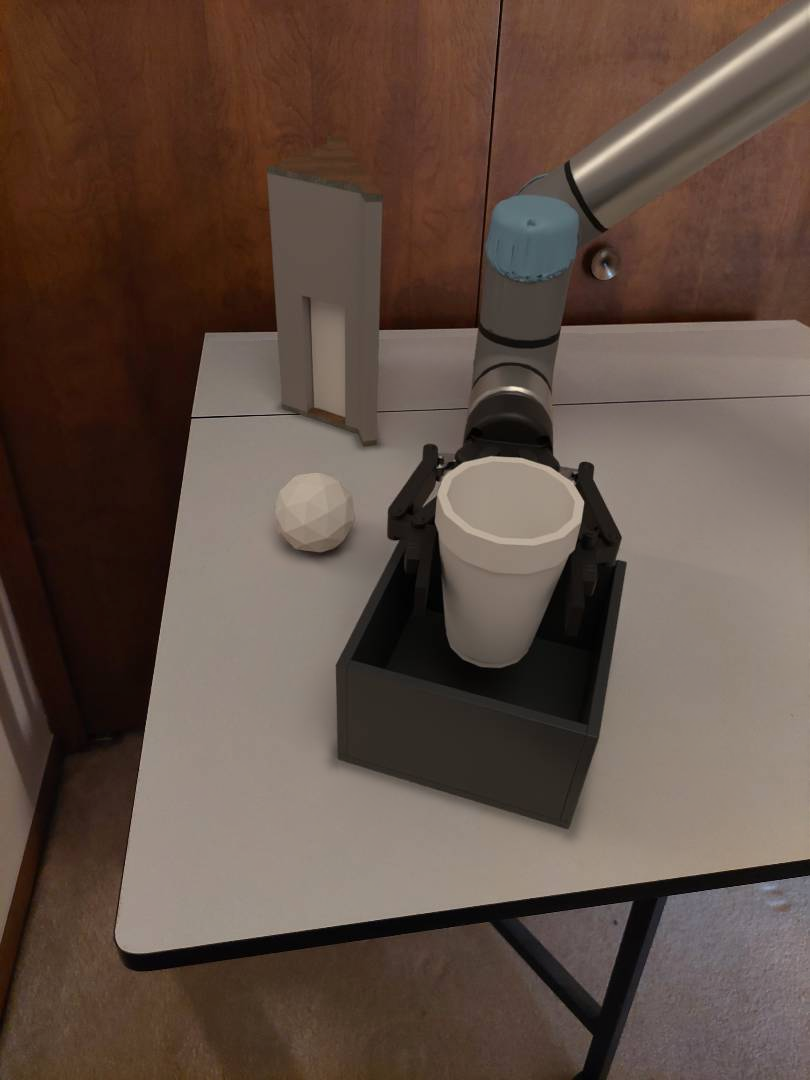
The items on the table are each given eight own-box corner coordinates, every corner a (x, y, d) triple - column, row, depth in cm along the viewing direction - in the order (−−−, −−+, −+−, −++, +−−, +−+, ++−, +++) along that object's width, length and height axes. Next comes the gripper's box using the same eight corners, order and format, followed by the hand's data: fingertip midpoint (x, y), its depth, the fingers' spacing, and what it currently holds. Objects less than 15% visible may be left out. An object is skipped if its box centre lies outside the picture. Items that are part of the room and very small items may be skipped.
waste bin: (599, 653, 70) (627, 561, 63) (568, 829, 57) (599, 738, 50) (407, 604, 73) (413, 512, 66) (337, 759, 60) (335, 665, 53)
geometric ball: (331, 552, 83) (377, 494, 80) (312, 581, 75) (362, 518, 72) (272, 507, 82) (316, 447, 79) (247, 531, 74) (295, 466, 72)
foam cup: (460, 700, 55) (479, 560, 47) (405, 611, 62) (414, 473, 53) (575, 661, 58) (613, 523, 50) (512, 580, 65) (536, 445, 56)
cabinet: (376, 444, 93) (382, 194, 75) (293, 453, 91) (279, 197, 73) (342, 360, 108) (341, 135, 90) (271, 365, 106) (255, 137, 88)
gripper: (628, 478, 71) (654, 672, 54) (381, 450, 72) (330, 629, 55) (648, 404, 66) (684, 591, 49) (383, 376, 67) (328, 548, 50)
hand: (496, 612), depth 52 cm, fingers closed on foam cup, 9 cm apart
